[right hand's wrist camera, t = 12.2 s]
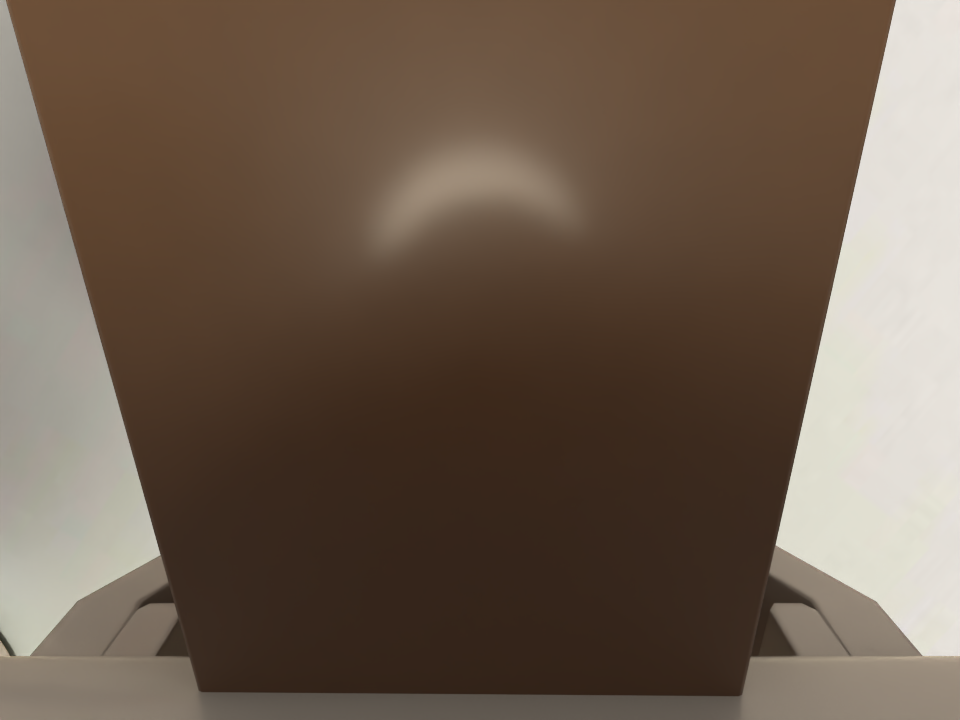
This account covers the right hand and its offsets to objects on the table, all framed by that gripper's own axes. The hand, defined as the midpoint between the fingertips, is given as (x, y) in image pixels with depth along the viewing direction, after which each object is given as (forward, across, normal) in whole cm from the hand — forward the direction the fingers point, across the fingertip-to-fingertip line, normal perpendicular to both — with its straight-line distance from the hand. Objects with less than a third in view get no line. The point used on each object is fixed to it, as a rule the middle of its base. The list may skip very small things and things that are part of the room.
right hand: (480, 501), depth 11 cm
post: (+3, 0, -26) cm, 26 cm away
